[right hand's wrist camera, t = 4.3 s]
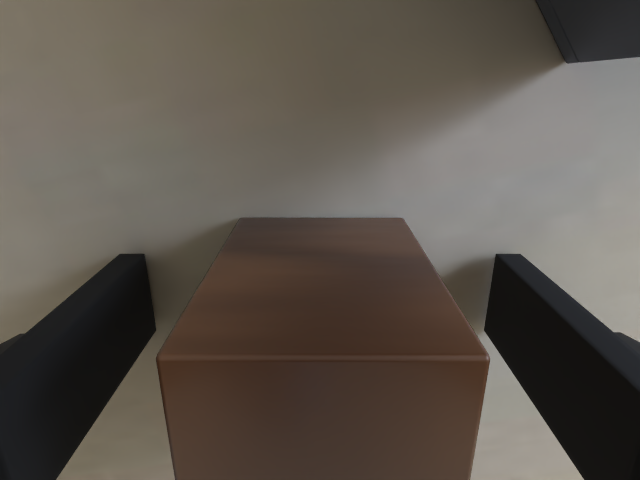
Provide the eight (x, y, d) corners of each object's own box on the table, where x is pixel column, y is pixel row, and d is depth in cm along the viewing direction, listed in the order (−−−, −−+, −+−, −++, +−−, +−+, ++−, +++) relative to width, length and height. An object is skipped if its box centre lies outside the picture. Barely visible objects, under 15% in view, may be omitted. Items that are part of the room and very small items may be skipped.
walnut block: (248, 355, 14) (189, 580, 8) (238, 216, 13) (152, 356, 6) (393, 356, 14) (455, 581, 8) (404, 217, 13) (492, 357, 6)
